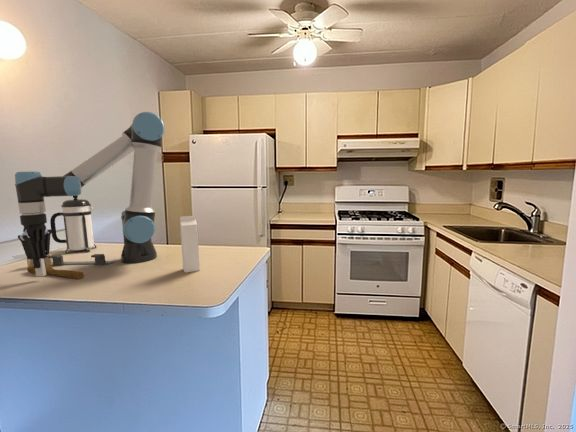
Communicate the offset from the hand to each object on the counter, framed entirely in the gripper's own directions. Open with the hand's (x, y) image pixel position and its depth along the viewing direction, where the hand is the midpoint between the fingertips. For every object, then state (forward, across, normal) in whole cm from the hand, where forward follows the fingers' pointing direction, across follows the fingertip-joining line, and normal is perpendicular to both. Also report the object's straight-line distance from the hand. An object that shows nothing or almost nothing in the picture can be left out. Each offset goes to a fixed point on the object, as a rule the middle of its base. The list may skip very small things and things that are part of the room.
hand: (41, 275), depth 118 cm
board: (+2, -19, -2) cm, 20 cm away
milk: (+2, -10, +54) cm, 55 cm away
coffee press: (+2, -47, -19) cm, 51 cm away
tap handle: (+2, -6, 0) cm, 7 cm away
